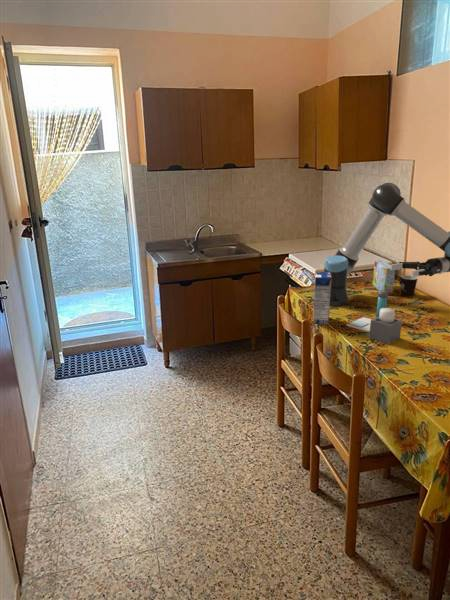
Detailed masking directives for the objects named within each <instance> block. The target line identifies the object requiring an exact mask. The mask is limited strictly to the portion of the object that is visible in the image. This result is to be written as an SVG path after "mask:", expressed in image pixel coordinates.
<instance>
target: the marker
mask: <svg viewBox="0 0 450 600" xmlns="http://www.w3.org/2000/svg"><path fill="white" fill-rule="evenodd" d="M377 292H378V293H377V305H376V314H375V318H376V317H379V313H380V309H381V308H387V304H388V291H385V290H378V291H377Z"/></svg>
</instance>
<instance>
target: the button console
mask: <svg viewBox="0 0 450 600" xmlns="http://www.w3.org/2000/svg"><path fill="white" fill-rule="evenodd" d="M402 324H403V320H402V319H398V318H394V323H392V324H387V323H383V322H379V317H376V316H375V318H372V320H371V324H370V333H369V336H368V338H369V339H371V340H374V341H377V342H380V343H381V342H382V343H384V344H387V345H390V344H392V343H394V342H395V341H397V340H399V339H400V338H401V332H402Z"/></svg>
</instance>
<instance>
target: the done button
mask: <svg viewBox="0 0 450 600" xmlns="http://www.w3.org/2000/svg"><path fill="white" fill-rule="evenodd" d="M395 317H396V310H395V309H394V308H391V307H390V308H389V307H386V308H381V309H380V313H379V322H383V323H387V324H392V323H394V318H395ZM395 319H396V318H395Z"/></svg>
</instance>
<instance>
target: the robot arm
mask: <svg viewBox="0 0 450 600" xmlns="http://www.w3.org/2000/svg"><path fill="white" fill-rule="evenodd" d="M367 204H368V208H367V210H366V211H365V213H364V215H362V216H363V217H361V220H360V221H359V222H358V224H357V225H356V227H355V229H354V230H353V231H352V233H351V235H350V236H349V238H348V240H347V241H346V243H345V244H344V245H343V247H339V248H338V249H337V252H336V253H335V254H334V255H330V256H328V257H326V258H325V259H324V264H323V268H324V269H323V272H331V278H332V279H331V293H330V306H332V307H342V306H346V305H348V304H349V302H350V301H349V294H348V291H347V283H348V281H347V280H348V275H349V274H350V273H351V272H353V270H354V267H355V266H356V264H357V263H358V261H360V260H359V258H360V257H359V255H360V253H361V252H362V250H363V248H364V247H365V246H366V244H367V242H368V241H369V239H370V238H371V237H372V235H373V233H374V232H375V230H376V228H377V227H379V224H380V222H381V221H382V220H383V218H384V217H385V216H393V217H396V218H398V220H400V221H401V222H402V223H404V225H405V224H406V226H408V227H410V228H411V229H412V230H413V231H415V232H417V233H418V234H420V235H421V236H422V237H424V238H425V239H426V240H428V241H429V242H431V243H432V245H433V244H434V245H435V246H436V247H438V248H439V249H440V250H441V251H443V252H444V256H441V257H440V256H439V257H432V258H428V259H426V261H424V262H423V261H422V262H420V261H399V262H398V263H392V264H390V265H391V268H390V270H395V271H396V270H397V271H399V270H400V271H402V270H403V269H406V270H407V269H408V270H410V269H411V276H412V277H422V276H425V277H426V276H429V277H432V276H434V275H436V274H437V275H438V274H439V275H442V274H444V273H450V230H449V231H447V230H445V229H444V228H442V227H441V226H439V225H438V224H437V223H435V222H434V221H433V220H431V219H430V218H428V217H427V216H425V215H424V214H423V213H421V212H420V211H418V210H417V209H416V208H415V207H413V206H411V205H410V204H409V203H407V202H406V198H405V197H403V196H402V195H401V190H400V188H399V187H398V185H396V184H395V183H393V182H384V183H382V184H380V185H378V186H376V188H375V189H374V190H373V192H372V195H371V198H370V200H369V201H368V202H367Z"/></svg>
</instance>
